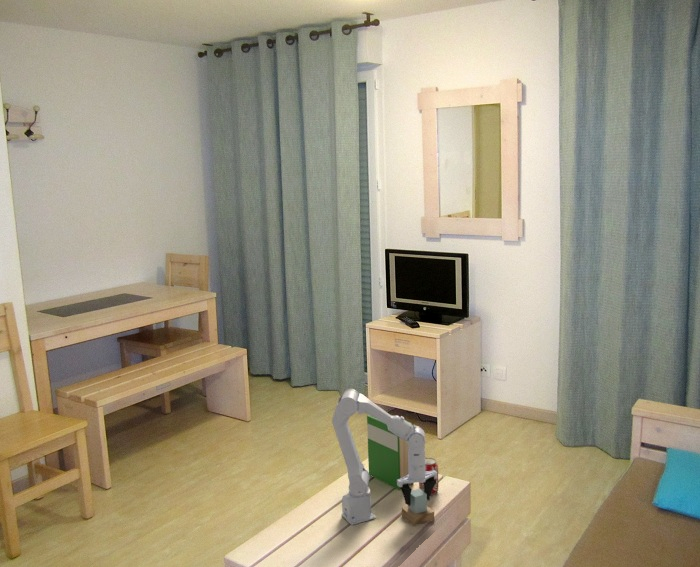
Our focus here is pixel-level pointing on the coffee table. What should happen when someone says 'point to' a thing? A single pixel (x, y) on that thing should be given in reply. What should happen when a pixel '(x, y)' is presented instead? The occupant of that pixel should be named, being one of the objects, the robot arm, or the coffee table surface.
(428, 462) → the soda can
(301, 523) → the coffee table surface
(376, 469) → the hardback book
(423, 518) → the block
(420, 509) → the pale blue cube
